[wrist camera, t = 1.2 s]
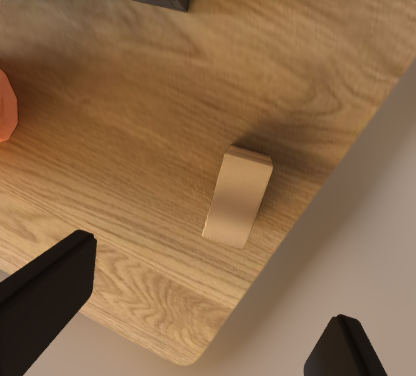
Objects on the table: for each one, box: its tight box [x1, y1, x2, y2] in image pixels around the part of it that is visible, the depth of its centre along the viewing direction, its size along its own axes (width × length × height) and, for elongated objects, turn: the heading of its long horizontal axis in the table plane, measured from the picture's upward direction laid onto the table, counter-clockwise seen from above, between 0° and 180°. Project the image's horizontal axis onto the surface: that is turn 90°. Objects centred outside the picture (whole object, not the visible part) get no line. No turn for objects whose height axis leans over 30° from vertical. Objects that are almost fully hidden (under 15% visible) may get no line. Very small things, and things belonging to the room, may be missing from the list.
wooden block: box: [202, 145, 274, 250], centre depth 19 cm, size 7×4×4 cm, turn 166°
